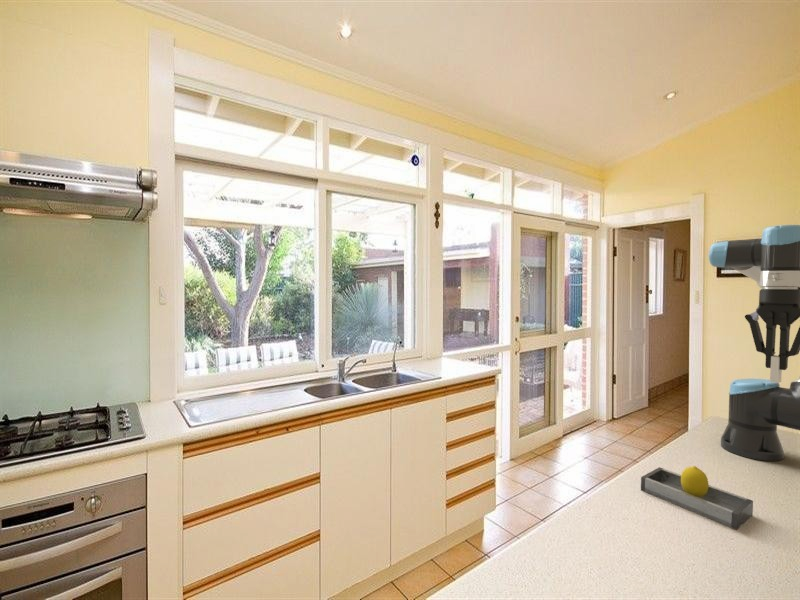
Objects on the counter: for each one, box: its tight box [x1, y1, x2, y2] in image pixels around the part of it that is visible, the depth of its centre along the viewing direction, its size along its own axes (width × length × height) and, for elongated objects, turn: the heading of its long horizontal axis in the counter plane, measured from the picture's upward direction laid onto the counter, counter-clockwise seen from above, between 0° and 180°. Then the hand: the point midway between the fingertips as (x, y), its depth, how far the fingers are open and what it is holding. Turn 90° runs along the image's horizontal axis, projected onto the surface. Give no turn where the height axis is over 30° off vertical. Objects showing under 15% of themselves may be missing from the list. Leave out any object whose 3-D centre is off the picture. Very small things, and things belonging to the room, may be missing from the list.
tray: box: [640, 467, 754, 531], centre depth 98 cm, size 10×20×4 cm, turn 33°
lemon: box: [680, 465, 710, 497], centre depth 98 cm, size 6×6×8 cm
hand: (775, 381), depth 100 cm, fingers closed
